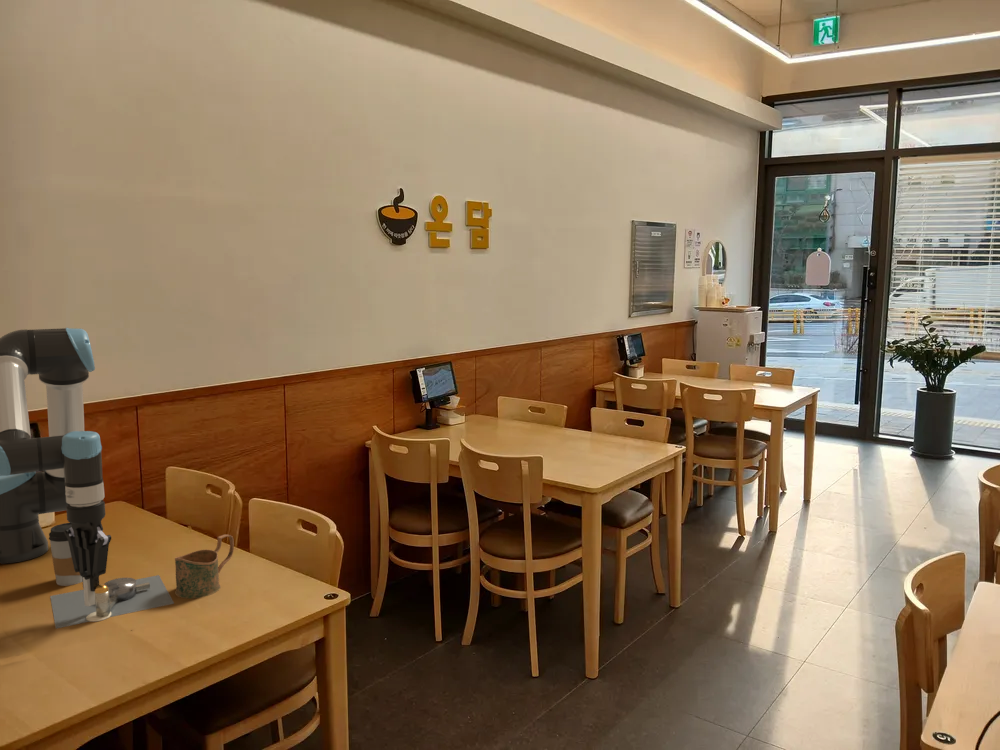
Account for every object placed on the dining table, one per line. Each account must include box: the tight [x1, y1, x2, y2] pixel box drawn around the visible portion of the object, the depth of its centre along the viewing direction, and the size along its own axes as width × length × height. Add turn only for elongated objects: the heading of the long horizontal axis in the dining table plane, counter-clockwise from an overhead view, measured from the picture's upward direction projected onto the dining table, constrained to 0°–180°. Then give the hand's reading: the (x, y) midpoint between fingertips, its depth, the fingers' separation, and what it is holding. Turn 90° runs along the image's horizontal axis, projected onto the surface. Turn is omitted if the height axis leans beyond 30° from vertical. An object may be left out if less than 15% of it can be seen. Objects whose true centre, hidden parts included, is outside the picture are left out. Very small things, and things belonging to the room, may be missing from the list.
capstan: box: [95, 577, 150, 617], centre depth 180 cm, size 16×12×7 cm
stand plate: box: [49, 574, 175, 629], centre depth 182 cm, size 21×24×2 cm
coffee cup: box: [48, 522, 83, 587], centre depth 193 cm, size 8×8×15 cm
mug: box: [174, 534, 235, 599], centre depth 191 cm, size 12×18×12 cm, turn 155°
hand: (92, 603), depth 174 cm, fingers closed
